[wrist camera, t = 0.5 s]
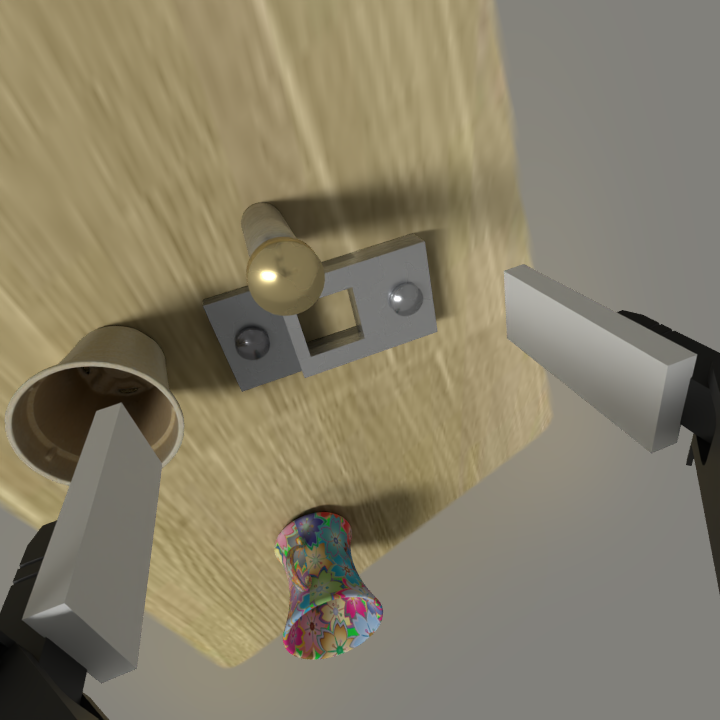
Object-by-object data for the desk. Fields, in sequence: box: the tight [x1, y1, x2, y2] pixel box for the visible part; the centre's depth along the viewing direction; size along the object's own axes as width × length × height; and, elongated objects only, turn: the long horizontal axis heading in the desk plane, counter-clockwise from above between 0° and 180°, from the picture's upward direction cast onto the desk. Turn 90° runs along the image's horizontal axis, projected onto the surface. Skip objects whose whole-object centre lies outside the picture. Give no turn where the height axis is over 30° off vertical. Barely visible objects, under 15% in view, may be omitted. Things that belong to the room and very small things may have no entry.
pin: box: [241, 203, 325, 316], centre depth 27 cm, size 4×4×12 cm
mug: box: [275, 512, 383, 659], centre depth 44 cm, size 12×9×11 cm
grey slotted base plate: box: [203, 233, 437, 391], centre depth 36 cm, size 8×17×3 cm, turn 103°
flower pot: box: [5, 326, 184, 486], centre depth 31 cm, size 9×9×9 cm
